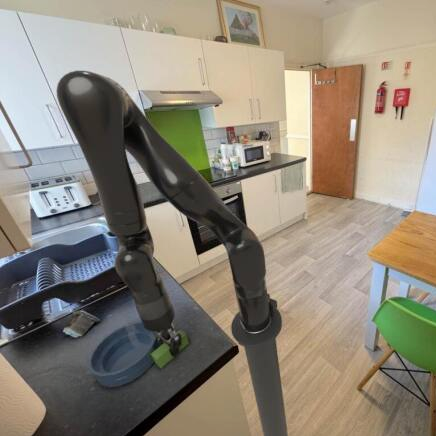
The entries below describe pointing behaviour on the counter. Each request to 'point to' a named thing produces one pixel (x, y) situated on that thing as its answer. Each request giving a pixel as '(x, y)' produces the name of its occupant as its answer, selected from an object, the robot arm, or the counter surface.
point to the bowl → (123, 355)
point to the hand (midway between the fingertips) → (171, 349)
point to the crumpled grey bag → (80, 323)
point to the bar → (167, 351)
